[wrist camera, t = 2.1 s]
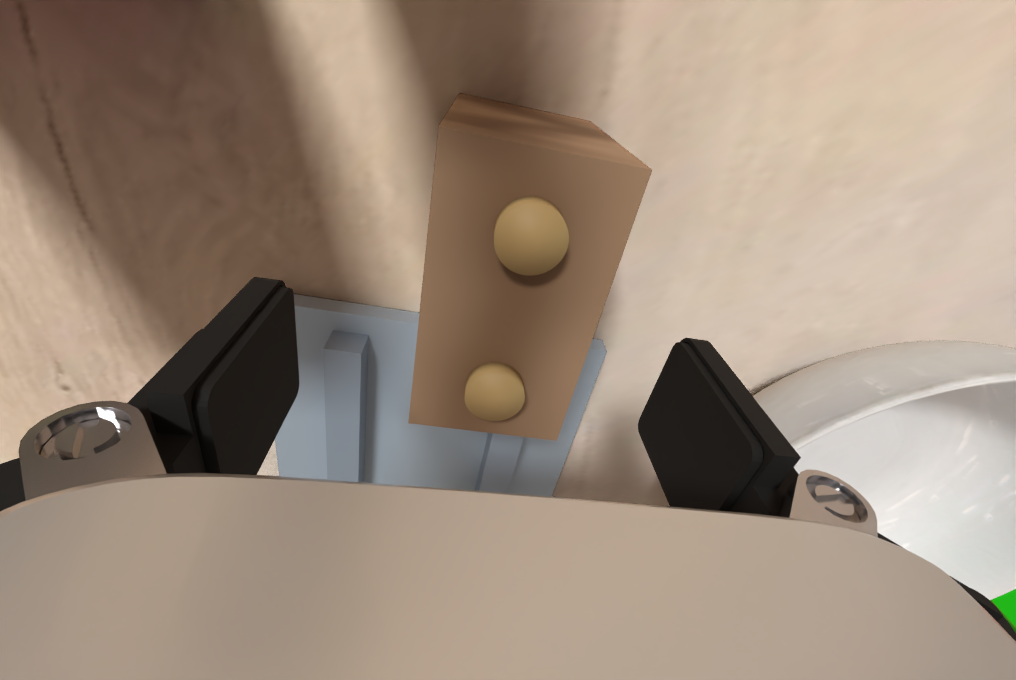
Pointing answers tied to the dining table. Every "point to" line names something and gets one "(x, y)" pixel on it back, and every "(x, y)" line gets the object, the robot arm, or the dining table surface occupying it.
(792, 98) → the dining table surface
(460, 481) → the slot board
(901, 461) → the serving bowl
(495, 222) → the panel block
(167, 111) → the dining table surface
